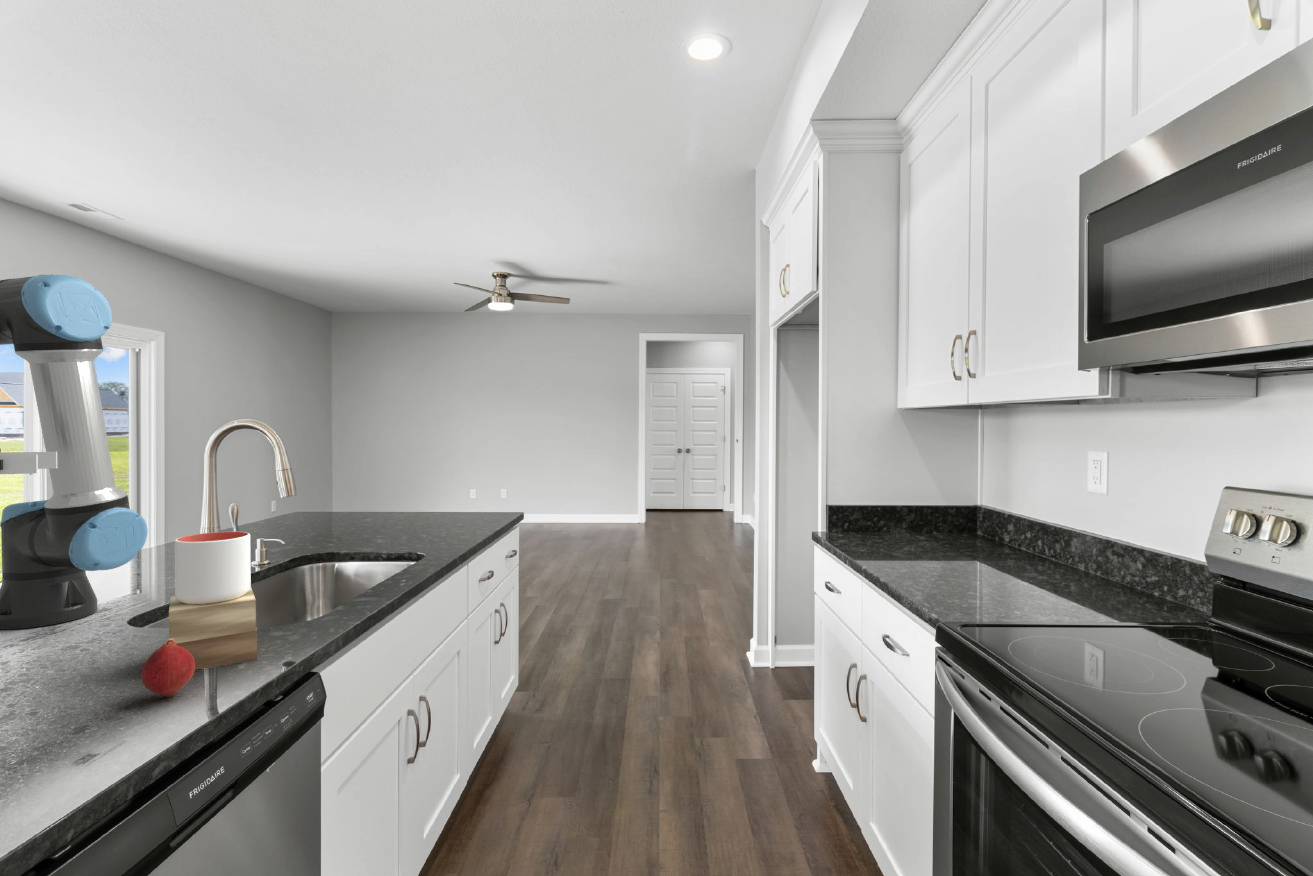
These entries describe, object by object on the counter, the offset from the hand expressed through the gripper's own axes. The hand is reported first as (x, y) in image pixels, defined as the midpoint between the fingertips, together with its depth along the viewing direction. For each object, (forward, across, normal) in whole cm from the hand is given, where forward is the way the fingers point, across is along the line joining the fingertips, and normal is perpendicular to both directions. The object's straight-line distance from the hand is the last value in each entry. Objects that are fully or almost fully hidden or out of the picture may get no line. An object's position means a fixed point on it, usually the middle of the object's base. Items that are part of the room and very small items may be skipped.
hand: (47, 461), depth 95 cm
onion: (+16, +23, -32) cm, 43 cm away
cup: (+21, +8, -23) cm, 32 cm away
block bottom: (+21, +8, -32) cm, 39 cm away
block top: (+20, +8, -27) cm, 35 cm away
